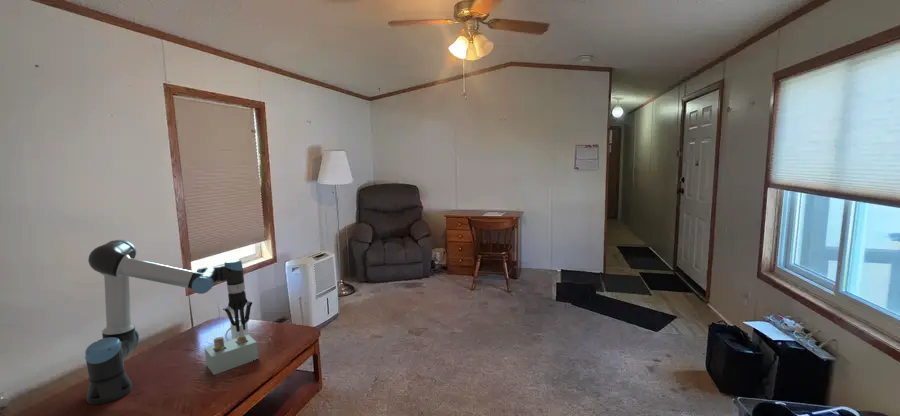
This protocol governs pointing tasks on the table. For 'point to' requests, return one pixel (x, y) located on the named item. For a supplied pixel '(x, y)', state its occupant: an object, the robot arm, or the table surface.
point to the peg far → (241, 340)
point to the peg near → (219, 344)
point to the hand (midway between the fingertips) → (241, 336)
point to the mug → (234, 332)
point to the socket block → (231, 355)
